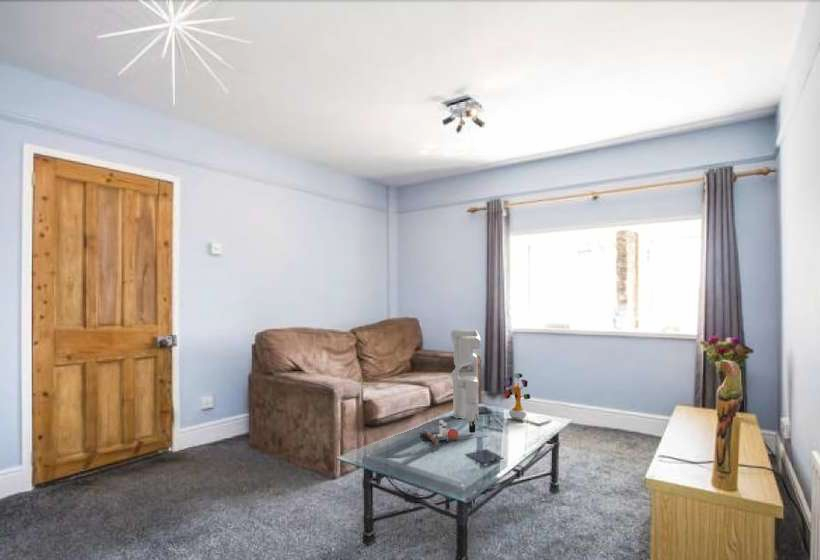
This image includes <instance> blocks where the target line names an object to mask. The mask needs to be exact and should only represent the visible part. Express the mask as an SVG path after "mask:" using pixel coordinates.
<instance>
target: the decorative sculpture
mask: <svg viewBox="0 0 820 560" xmlns="http://www.w3.org/2000/svg"><path fill="white" fill-rule="evenodd" d="M514 378H516V379H517V380H519V379H520V378H523V374H522V373H515V374H514ZM520 381H521V383H522V386H519V384H517V385H516V384H515V383H514V382H513V377H506V378H504V382H503V386H504V387H505V388H509V387H511V386H512V389H511V388H509V389H507V390H506V392H505V393H504V398H505V399H506V400H507V399H510V398H511V395H513V394H514V399H515V405H514V407H512V408H510V409H509V410H508V414H509V417H510V418H512V419H513V420H515V419H516V421H523V420H524V419H525V418H526V417H527V411H526V410H525V409H524V408H523V406H522V403H521V399H522V398H523V400H529V399H531V395H530V393H525V394H523V395H522V393H521V392H522V391H521V390H522V389H523V388H526V387H528V382H529V381H528V380H527V379H521V380H520Z"/></svg>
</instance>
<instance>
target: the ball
mask: <svg viewBox="0 0 820 560" xmlns="http://www.w3.org/2000/svg"><path fill="white" fill-rule="evenodd" d="M447 433H448V437H449V438H450V439H451V441H456V440H455V439H456V438H457V437H458V433H459V432H458V430H457V429H455V428H450V429H448V430H447Z"/></svg>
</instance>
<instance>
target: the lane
mask: <svg viewBox="0 0 820 560" xmlns="http://www.w3.org/2000/svg"><path fill="white" fill-rule="evenodd" d="M485 437H487V438H488V435H487V434H485V433H484V432H482V431H481V430H475V432H474V433H470V432H469V431H461V432H460V431H459V432H458V437H457V438H456V439H455V440H454V441H457V440H467V439H475V438H485ZM449 441H450V442H451V441H452V440H451V439H450V438H449V437H448V439H447V440H446V441H445V442H449Z"/></svg>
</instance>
